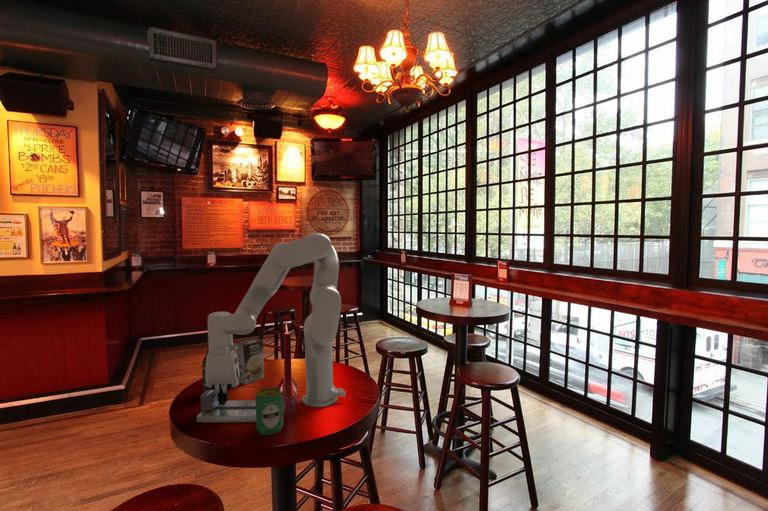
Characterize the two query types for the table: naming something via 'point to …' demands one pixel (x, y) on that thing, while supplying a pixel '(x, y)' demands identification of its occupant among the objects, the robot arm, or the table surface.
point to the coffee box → (250, 360)
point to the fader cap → (209, 400)
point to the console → (230, 412)
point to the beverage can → (269, 411)
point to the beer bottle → (204, 370)
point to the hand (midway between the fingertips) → (223, 403)
